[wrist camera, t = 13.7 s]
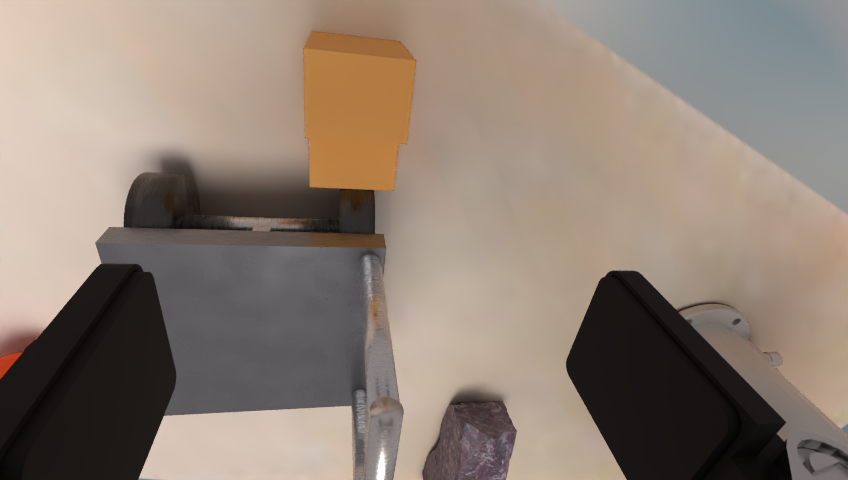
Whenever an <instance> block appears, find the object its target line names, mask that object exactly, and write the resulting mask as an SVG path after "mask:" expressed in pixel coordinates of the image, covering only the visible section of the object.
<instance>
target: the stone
mask: <svg viewBox="0 0 848 480" xmlns="http://www.w3.org/2000/svg"><path fill="white" fill-rule="evenodd" d="M441 426H442V427H441V436H440V440H439V444H438V445H437V446H436V448H435V449H434V450H433V451H432V452H431V453H430V454H429V455H428V456H427V461H426V464H425V468H424V470H423V480H506V477H507V473H508V467H509V460H510V458H511V455H512V451H513V447H514V442H515V437H516V432H517V430H516V429H515V427H514V426H513V423H512V421H511V419H510V418H509V415H508V413H507V409H506V407H505V405H504V403H503V402H484V403H479V402H467V403H460V404H459V405H454V404H453V405H450V406H449V408H447V410H446V413H445V415H444V418H443V421H442V424H441Z"/></svg>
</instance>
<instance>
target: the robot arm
mask: <svg viewBox="0 0 848 480" xmlns="http://www.w3.org/2000/svg"><path fill="white" fill-rule="evenodd" d="M749 337H750V327H749V324H748V322H747V320H746V319H745V318H744V316H742V315H741V314H740V313H739V312H738V311H736V310H735V309H733V308H731V307H729V306H726V305H721V304H705V305H699V306H694V307H691V308H688V309H684V310H682V311H680V312H678V311H677V310H676V309H675V308H674V307H673V306H672V305H671V304H670V303H669V302H668V301H667V300H666V299H665V298H664V297H663V296H662V295H661V294H660V293H659V292H658V291H657V290H656V289H655V288H654V287H653V286H652V285H651V284H650V283H649V282H648V281H647V280H646V279H645V278H644V277H643V276H642V275H641V274H640V273H639V272H636V271H610V272H609V273H608V274H607V275H606V276H605V277H603V278H602V279H601V280H600V281H599V283H598V286H597V288H596V290H595V293H594V295H593V298H592V300H591V302H590V305H589V307H588V310H587V312H586V314H585V317H584V319H583V322H582V324H581V326H580V329H579V331H578V334H577V336H576V338H575V341H574V343H573V346H572V348H571V350H570V353H569V355H568V357H567V361H566V368H567V372H568V375H569V377H570V379H571V380H572V382H573V384H574V386H575V388H576V389H577V391H578V393H579V395H580V397H581V398H582V400H583V402H584V404H585V405H586V407H587V409H588V411H589V413H590V414H591V416H592V418H593V420H594V422H595V423H596V425H597V427H598V429H599V431H600V432H601V434H602V436H603V438H604V440H605V441H606V443H607V445H608V447H609V449H610V450H611V452H612V454H613V456H614V457H615V459H616V461H617V463H618V465H619V466H620V468H621V470H622V472H623V474H624V475H625V477H626V479H627V480H848V435H847V434H846V433H845V432H843V431H842V430H841V429H840V428H839V427H838V426H837V425H836V424H835V423H834V422H833V421H832V420H830V419H829V418H828V417H827V416H826V415H825V414H824V413H823V412H822V411H821V410H820V409H819V408H817V407H816V406H815V405H814V404H813V403H812V402H811V401H810V400H809V399H808V398H807V397H805V396H804V395H803V394H802V393H801V392H800V391H799V390H798V389H797V388H796V387H795V386H794V385H792V384H791V383H790V382H789V381H788V380H787V379H786V378H785V377H784V376H783V375H782V374H780V372H779V371H778V370H777V369H776V368H775V367H773V366H779V365H781V364H782V362H783V360H782V357H781V355H780V354H779V353H777V352H763V353H762V352H761V351H760V350H759V349H758V348H757V347H756V346H754V345H753V344H752V343H751V342H750V341H749ZM175 385H176V369H175V364H174V360H173V356H172V352H171V348H170V343H169V339H168V335H167V331H166V327H165V322H164V318H163V314H162V310H161V306H160V301H159V297H158V293H157V289H156V285H155V280H154V277H153V275H152V273H151V272H143V269H142V267H141V266H140V265H138V264H110V263H104V264H100V265H99V266H98V267H97V268H96V269H95V270H94V271H93V272H92V274H91V275H90V276H89V277H88V278H87V280H86V281H85V282H84V283H83V284H82V286H81V287H80V288H79V289H78V290H77V292H76V293H75V294H74V295H73V296H72V298H71V299H70V300H69V301H68V302H67V304H66V305H65V306H64V307H63V308H62V310H61V311H60V312H59V313H58V315H57V316H56V317H55V318H54V319H53V321H52V322H51V323H50V324H49V325H48V327H47V328H46V329H45V330H44V331H43V333H42V334H41V335H40V336H39V337H38V339H37V340H35V341H34V342H32V343H31V344H30V345H29V346H28V347H27V348H26V349H25V350H24V352H23V353H22V354H21V355H20V356H19V358H18V359H17V360H16V361H15V362H14V363H13V365H12V366H11V367H10V368H9V369H8V371H7V372H6V373H5V374H4V375H3V377H2V378H1V379H0V480H138V478H139V476H140V473H141V471H142V469H143V466H144V464H145V461H146V459H147V456H148V454H149V451H150V449H151V446H152V444H153V441H154V439H155V436H156V434H157V431H158V429H159V426H160V424H161V421H162V419H163V416H164V414H165V412H166V409H167V407H168V404H169V402H170V399H171V397H172V394H173V392H174V389H175Z"/></svg>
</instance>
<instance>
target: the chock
mask: <svg viewBox="0 0 848 480" xmlns="http://www.w3.org/2000/svg"><path fill="white" fill-rule="evenodd" d="M303 54H304V113H305V138H309V178H310V187H318V188H340V189H362V190H384V191H394V185H395V175H396V164H397V154H398V144H407V140H408V131H409V121H410V112H411V103H412V94H413V85H414V75H415V66H416V60H415V59H414V57H413V56H412V55H411V54H410V53H409V51H408V50H407V49H406V48H405V47H404V45H403V44H402V43H401V42H400V41H391V40H383V39H374V38H366V37H357V36H349V35H340V34H331V33H323V32H314V31H312V32H311V34H310V36H309V38H308V40H307V42H306V44H305V46H304V48H303Z"/></svg>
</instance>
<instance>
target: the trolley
mask: <svg viewBox="0 0 848 480" xmlns="http://www.w3.org/2000/svg"><path fill="white" fill-rule="evenodd" d="M95 243H96V247H97V250H98V253H99V256H100V259H101V263H102V264H104V263H110V264H138V265H140V266H141V267H142V269H143V272H151V273H152V275H153V277H154V280H155V285H156V289H157V293H158V297H159V301H160V306H161V310H162V314H163V318H164V322H165V327H166V331H167V335H168V339H169V343H170V348H171V352H172V356H173V360H174V364H175V369H176V385H175V389H174V392H173V394H172V397H171V399H170V402H169V404H168V407H167V409H166V412H165V414H164V416H166V415H185V414H204V413H222V412H241V411H260V410H279V409H297V408H316V407H335V406H352V447H353V480H393V478H394V471H395V465H396V458H397V452H398V446H399V439H400V433H401V427H402V420H403V414H404V410H403V407H402V405H401V403H400V401H399V394H398V386H397V379H396V371H395V364H394V356H393V349H392V341H391V334H390V326H389V319H388V311H387V304H386V296H385V289H384V281H383V274H384V264H385V253H386V245H385V239H384V234H375V200H374V190H362V189H340V202H339V220H327V219H296V218H265V217H234V216H203V215H201V211H200V203H199V197H198V193H197V190H196V187H195V184H194V182H193V180H192V179H191V178H190V177H189V176H188V175H186V174H169V173H149V172H145V173H142V174H140V175H139V176H138V177H137V178H136V179H135V180H134V182H133V184H132V186H131V188H130V190H129V193H128V196H127V200H126V205H125V212H124V227H109V228H108V229H107V230H106V231H105V233H104V234H103V235H102V236H101V237H100V238H99V239H98V240H97V241H96V242H95Z"/></svg>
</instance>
